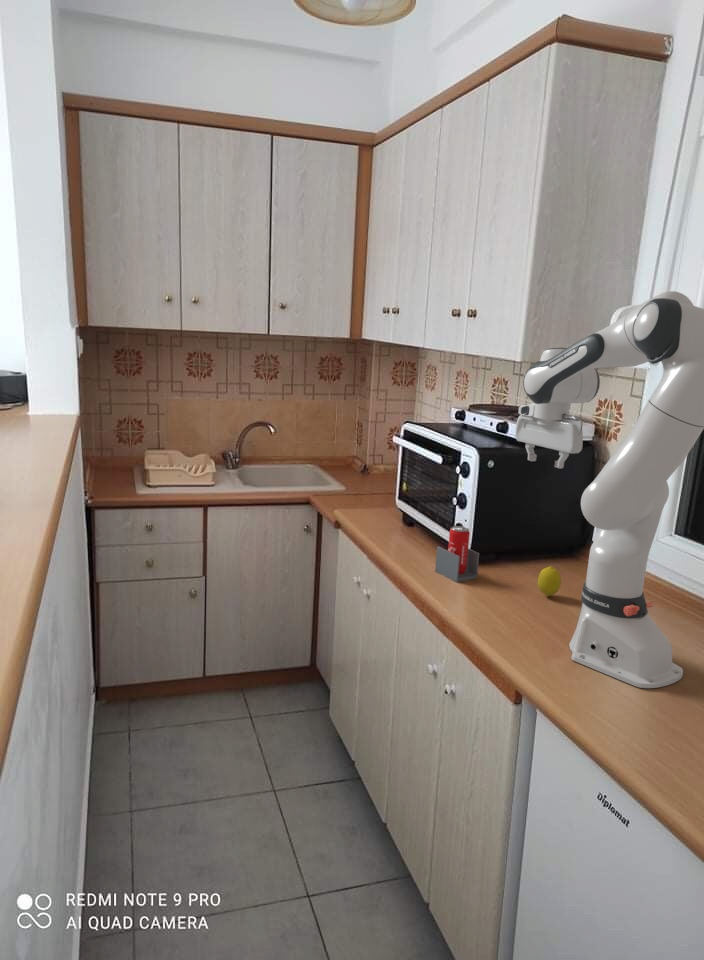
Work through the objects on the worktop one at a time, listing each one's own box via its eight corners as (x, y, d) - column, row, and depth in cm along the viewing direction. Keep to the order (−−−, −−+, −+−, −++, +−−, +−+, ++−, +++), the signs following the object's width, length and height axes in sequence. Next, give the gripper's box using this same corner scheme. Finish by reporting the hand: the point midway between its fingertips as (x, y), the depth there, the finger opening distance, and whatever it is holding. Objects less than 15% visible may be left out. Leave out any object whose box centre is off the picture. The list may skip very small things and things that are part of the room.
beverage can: (465, 575, 188) (469, 532, 186) (445, 573, 189) (449, 530, 187) (466, 569, 193) (470, 526, 191) (446, 567, 194) (450, 524, 192)
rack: (476, 578, 190) (479, 553, 188) (456, 582, 186) (458, 556, 185) (455, 567, 197) (457, 543, 196) (435, 571, 194) (437, 546, 192)
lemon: (552, 602, 176) (556, 571, 174) (532, 595, 179) (535, 565, 178) (562, 596, 180) (566, 566, 178) (542, 590, 183) (546, 561, 182)
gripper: (591, 417, 177) (584, 471, 180) (531, 406, 193) (525, 456, 196) (574, 417, 173) (567, 473, 176) (514, 406, 190) (508, 457, 193)
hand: (545, 464), depth 186 cm, fingers open, 8 cm apart
